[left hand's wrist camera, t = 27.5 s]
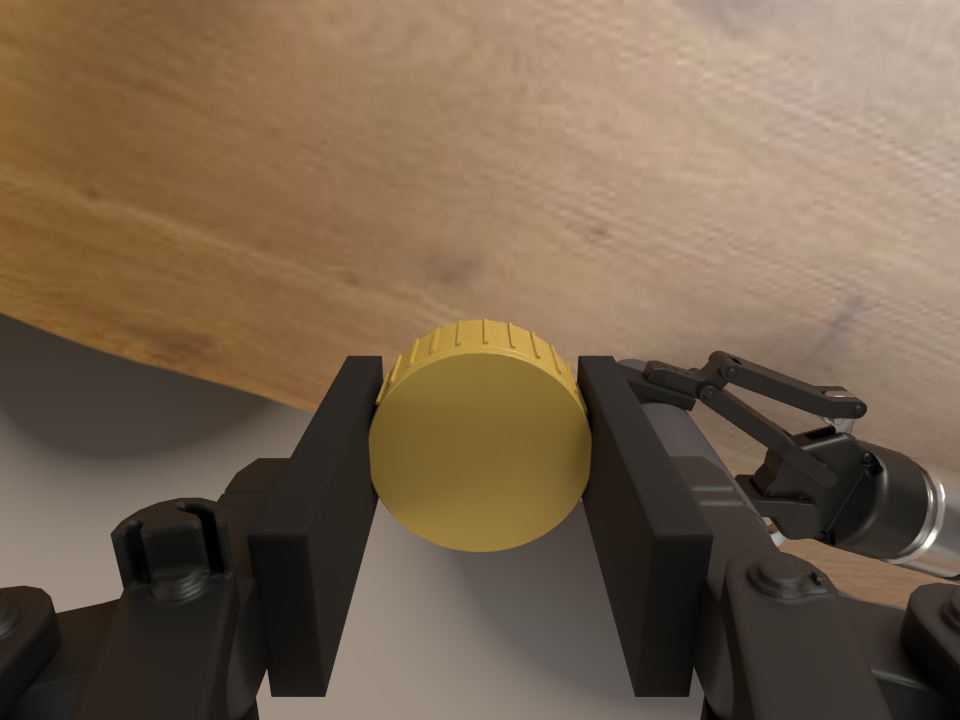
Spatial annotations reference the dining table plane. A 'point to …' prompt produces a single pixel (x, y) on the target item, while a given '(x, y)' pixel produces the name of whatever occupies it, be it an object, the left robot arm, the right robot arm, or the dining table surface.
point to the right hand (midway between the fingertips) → (575, 411)
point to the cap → (480, 437)
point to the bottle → (682, 434)
